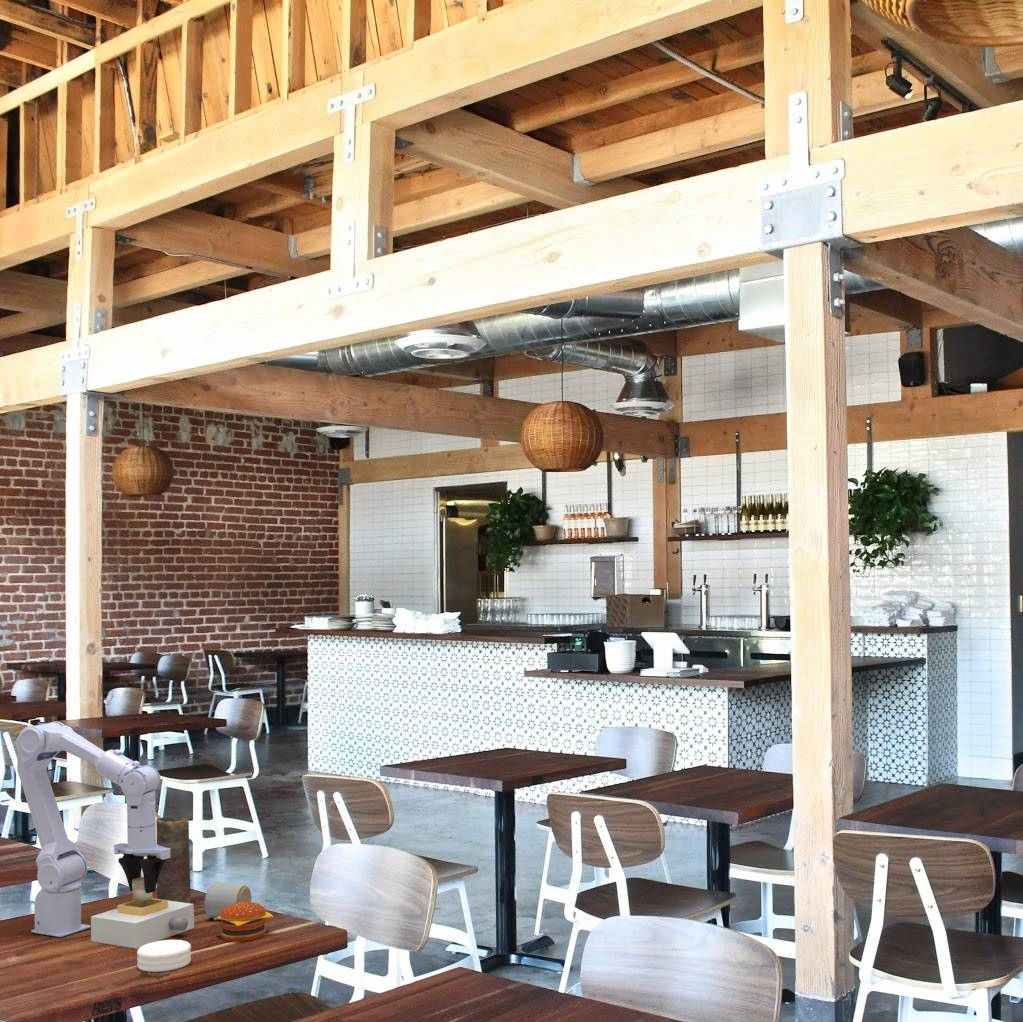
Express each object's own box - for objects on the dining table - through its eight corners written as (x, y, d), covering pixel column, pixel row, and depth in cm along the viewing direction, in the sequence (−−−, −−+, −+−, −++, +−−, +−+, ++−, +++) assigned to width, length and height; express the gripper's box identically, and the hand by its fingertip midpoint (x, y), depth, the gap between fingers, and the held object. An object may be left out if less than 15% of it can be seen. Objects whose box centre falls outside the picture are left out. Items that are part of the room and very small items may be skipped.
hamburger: (247, 927, 258) (247, 895, 259) (275, 934, 252) (275, 902, 252) (210, 937, 251) (209, 904, 252) (238, 945, 245) (237, 911, 245)
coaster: (134, 962, 237) (133, 943, 237) (186, 954, 241) (186, 936, 241) (140, 976, 228) (140, 957, 228) (195, 967, 232) (195, 949, 232)
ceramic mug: (239, 922, 262) (239, 886, 262) (203, 922, 263) (203, 885, 264) (259, 910, 272) (258, 875, 273) (225, 910, 274) (224, 875, 274)
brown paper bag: (165, 903, 281) (164, 814, 282) (196, 903, 280) (194, 814, 281) (151, 911, 274) (150, 821, 275) (182, 911, 272) (181, 821, 274)
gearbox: (91, 941, 251) (90, 909, 252) (150, 921, 265) (149, 891, 266) (146, 950, 243) (146, 917, 244) (204, 929, 257) (203, 898, 258)
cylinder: (128, 899, 255) (128, 880, 255) (142, 895, 258) (142, 876, 258) (142, 901, 253) (141, 881, 253) (156, 897, 256) (156, 877, 257)
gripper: (102, 826, 257) (103, 892, 256) (151, 831, 249) (153, 899, 249) (128, 820, 263) (129, 884, 262) (177, 824, 256) (178, 890, 255)
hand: (142, 891), depth 256 cm, fingers closed on cylinder, 4 cm apart
